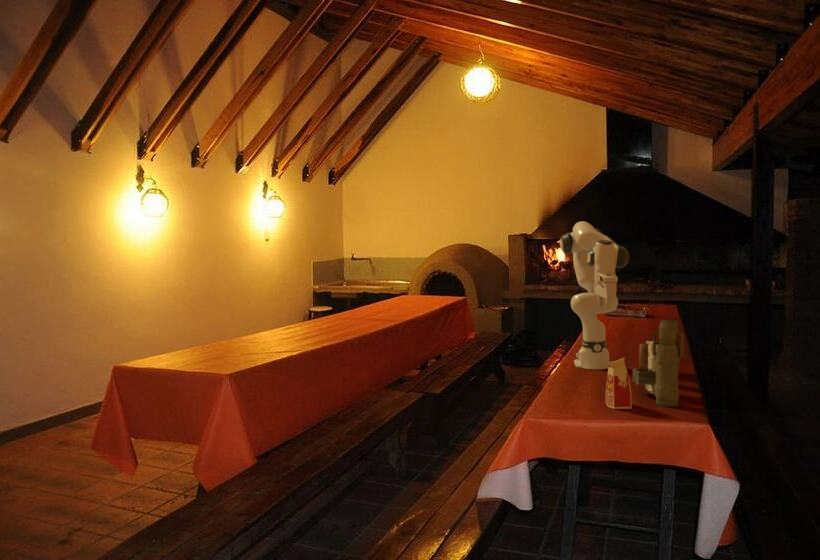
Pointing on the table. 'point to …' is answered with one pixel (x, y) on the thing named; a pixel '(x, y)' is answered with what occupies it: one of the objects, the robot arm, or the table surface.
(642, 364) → the cylinder
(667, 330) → the thermos
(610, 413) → the table surface
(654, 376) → the bracket
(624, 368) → the milk carton
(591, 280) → the robot arm
